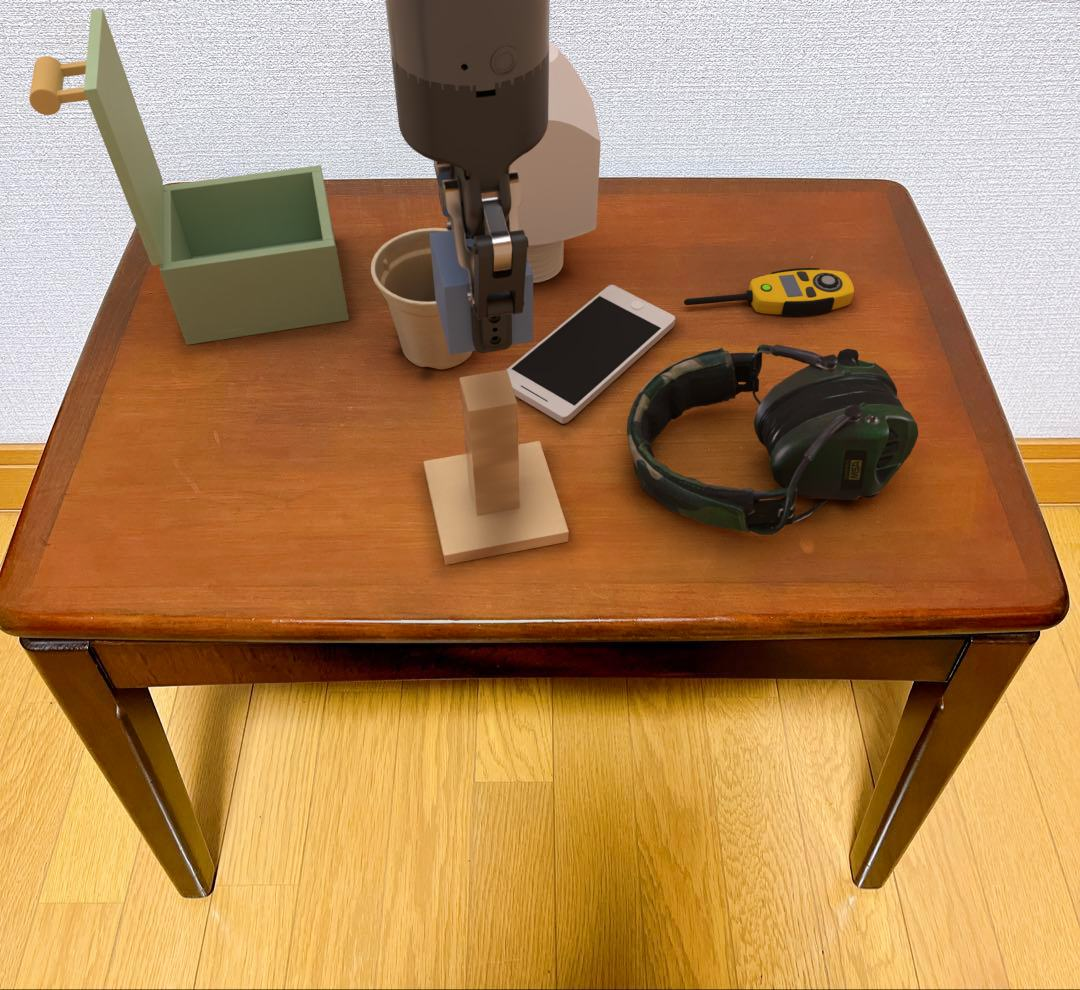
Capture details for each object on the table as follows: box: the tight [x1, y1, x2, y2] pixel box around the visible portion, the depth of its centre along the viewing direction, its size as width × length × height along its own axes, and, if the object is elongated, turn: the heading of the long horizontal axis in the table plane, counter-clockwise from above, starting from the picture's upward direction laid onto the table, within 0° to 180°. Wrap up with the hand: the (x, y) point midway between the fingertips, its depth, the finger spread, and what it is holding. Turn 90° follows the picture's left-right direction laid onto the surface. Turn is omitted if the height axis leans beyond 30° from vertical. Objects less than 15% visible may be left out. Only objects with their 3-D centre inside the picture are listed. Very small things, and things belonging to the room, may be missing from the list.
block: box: [429, 230, 534, 355], centre depth 59 cm, size 5×5×5 cm
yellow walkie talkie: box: [683, 267, 855, 317], centre depth 89 cm, size 5×2×15 cm
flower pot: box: [370, 227, 474, 370], centre depth 82 cm, size 9×9×9 cm
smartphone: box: [506, 284, 676, 424], centre depth 85 cm, size 7×16×1 cm, turn 141°
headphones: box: [626, 343, 919, 536], centre depth 74 cm, size 13×13×20 cm
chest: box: [159, 164, 350, 346], centre depth 87 cm, size 14×12×8 cm
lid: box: [28, 8, 164, 267], centre depth 77 cm, size 15×12×6 cm
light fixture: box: [509, 41, 602, 284], centre depth 85 cm, size 9×9×20 cm
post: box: [423, 369, 570, 566], centre depth 70 cm, size 9×9×12 cm
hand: (483, 315), depth 61 cm, fingers closed on block, 5 cm apart
